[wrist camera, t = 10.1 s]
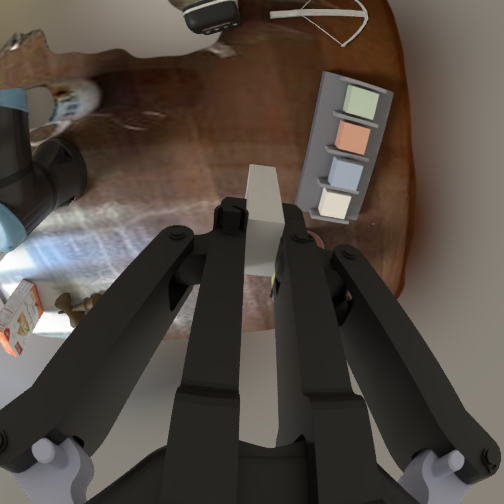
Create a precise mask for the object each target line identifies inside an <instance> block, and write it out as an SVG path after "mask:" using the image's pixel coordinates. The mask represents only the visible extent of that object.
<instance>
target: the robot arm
mask: <svg viewBox="0 0 504 504" xmlns="http://www.w3.org/2000/svg"><path fill="white" fill-rule="evenodd" d="M28 115H29V110H28V103H27V94H26V92H25V91H24V90H23V89H19V88H15V89H5V90H0V252H10V251H12V250H14V249H15V248H16V247H17V246H18V245H19V244H21V243H22V242H23V241H25V240H26V237H27V236H28V235H29V234H30V233H31V232H32V231H33V230H34V229H35V228H36V227H37V226H38V225H39V224H40V223H41V222H42V221H43V220H44V219H45V218H46V217H47V216H48V215H49V214H50V213H51V212H52V211H55V210H58V209H61V208H64V207H67V206H69V205H71V204H72V203H74V202H75V201H76V200H77V199H78V198H79V197H80V196H81V194H82V193H83V191H84V189H85V185H86V167H85V164H84V161H83V158H82V156H81V154H80V153H79V151H78V150H77V148H76V147H75V146H74V145H73V144H71V143H70V142H69V141H67V140H65V139H62V138H52V139H49V140H47V141H45V142H43V143H42V144H40V145H39V146H38V147H37V148H36V149H35V150H34V152H33V153H32V152H31V144H30V133H29V119H28ZM274 269H275V278H274V282H273V286H272V290H271V294H270V297H273V296H274V315H275V337H276V359H277V385H278V415H279V430H278V435H277V439H276V447H275V448H265V447H261V446H257V445H254V444H250V443H247V442H243V441H240V440H239V414H240V395H239V366H240V346H241V325H242V305H243V285H244V274H251V275H260V276H270V277H273V273H274ZM196 284H200V288H199V293H198V298H197V302H196V307H195V312H194V317H193V322H192V327H191V332H190V337H189V342H188V348H187V353H186V358H185V364H184V369H183V375H182V380H181V384H180V386H179V387H178V388H177V391H176V394H175V399H174V405H173V410H172V416H171V422H170V429H169V435H168V442H167V445H166V446H163V447H161V448H159V449H157V450H155V451H154V452H152V453H150V454H149V455H148V456H146V457H145V458H144V459H143V460H141V461H140V462H139V463H138V464H136V465H135V466H134V467H133V468H131V469H130V470H129V471H128V472H126V473H125V474H124V475H123V476H121V477H120V478H119V479H117V480H116V481H115V482H113V483H112V484H111V485H109V486H108V487H107V488H105V489H104V490H102V491H101V492H100V493H99V494H97V495H96V496H94V497H93V498H91V499H90V500H89V501H86V489H87V486H88V485H89V483H90V482H91V480H92V479H93V476H94V465H93V463H92V460H91V458H90V457H91V456H92V455H93V454H94V453H95V451H96V450H97V449H98V448H99V447H100V445H101V444H102V443H103V441H104V440H105V438H106V437H107V435H108V433H109V432H110V430H111V428H112V426H113V424H114V423H115V421H116V419H117V417H118V415H119V413H120V412H121V410H122V408H123V406H124V405H125V403H126V401H127V399H128V398H129V396H130V394H131V392H132V390H133V389H134V387H135V385H136V383H137V382H138V380H139V378H140V376H141V375H142V373H143V371H144V369H145V368H146V366H147V364H148V363H149V361H150V359H151V358H152V356H153V354H154V352H155V351H156V349H157V347H158V346H159V344H160V342H161V341H162V339H163V337H164V336H165V334H166V332H167V330H168V329H169V327H170V325H171V324H172V322H173V320H174V319H175V317H176V315H177V314H178V312H179V311H180V309H181V307H182V306H183V304H184V302H185V301H186V299H187V297H188V296H189V294H190V293H191V291H192V289H193V286H194V285H196ZM349 292H350V294H351V296H352V300H351V299H350V298H349V296H348V294H349ZM346 360H347V362H348V364H349V366H350V368H351V370H352V373H353V375H354V377H355V379H356V381H357V383H358V385H359V387H360V389H361V392H362V394H363V396H364V398H365V400H366V402H367V405H368V407H369V409H370V411H371V413H372V415H373V418H374V420H375V422H376V424H377V427H378V429H379V431H380V433H381V435H382V438H383V440H384V442H385V444H386V447H387V448H388V450H389V453H390V455H391V456H392V457H393V459H394V461H395V462H396V464H397V465H398V467H399V468H400V469H401V470H402V471H403V472H404V474H403V476H401V477H400V479H399V481H398V483H397V482H396V481H395V480H394V479H393V478H392V477H391V476H390V475H389V474H388V473H387V472H386V471H385V470H384V469H383V468H382V467H381V466H380V465H379V464H377V461H376V454H375V449H374V442H373V436H372V430H371V425H370V420H369V414H368V409H367V405H366V402H365V400H364V398H363V397H362V396H361V395H357V394H355V393H354V392H353V390H352V387H351V382H350V377H349V372H348V367H347V362H346ZM500 462H501V452H500V448H499V446H498V445H497V443H496V442H495V441H494V440H493V439H492V438H491V436H490V435H489V434H488V433H487V432H486V431H485V430H484V429H483V428H482V427H481V426H480V425H479V424H478V423H477V422H476V420H475V419H474V418H473V417H472V416H471V415H470V414H469V413H468V412H467V411H466V410H465V408H464V407H463V405H462V403H461V401H460V399H459V397H458V396H457V394H456V392H455V390H454V388H453V387H452V385H451V383H450V381H449V380H448V378H447V376H446V375H445V373H444V371H443V370H442V368H441V366H440V365H439V363H438V361H437V360H436V358H435V357H434V355H433V353H432V352H431V350H430V349H429V347H428V346H427V344H426V342H425V341H424V339H423V338H422V336H421V335H420V333H419V332H418V330H417V329H416V327H415V326H414V324H413V323H412V321H411V320H410V318H409V317H408V315H407V314H406V313H405V311H404V310H403V308H402V307H401V305H400V304H399V303H398V301H397V300H396V298H395V297H394V296H393V294H392V293H391V291H390V290H389V289H388V287H387V286H386V285H385V283H384V282H383V280H382V279H381V278H380V276H379V275H378V274H377V272H376V271H375V270H374V268H373V267H372V266H371V265H370V263H369V262H368V261H367V259H366V258H365V257H364V256H363V254H362V253H361V252H360V251H359V250H357V249H356V248H354V247H352V246H350V245H343V244H342V245H337V246H336V247H335V248H334V250H333V252H332V251H329V250H326V249H323V248H321V247H319V246H317V243H316V240H315V238H314V237H313V236H312V235H311V234H309V233H308V232H307V228H306V225H305V221H304V217H303V214H302V210H301V209H300V208H299V207H298V206H297V205H293V204H286V203H281V197H280V191H279V186H278V180H277V174H276V169H275V167H268V166H260V165H253V164H250V167H249V175H248V182H247V189H246V196H245V199H242V198H234V197H226V198H225V199H223V200H222V202H221V205H219V206H217V207H216V208H215V211H214V225H213V230H212V231H211V232H209V233H206V234H201V235H194V232H193V231H192V230H191V229H190V228H188V227H186V226H181V225H173V226H170V227H166V228H165V229H163V230H162V231H161V232H160V233H159V234H158V235H157V236H156V237H155V238H154V239H153V240H152V241H151V242H150V243H149V245H148V246H147V247H146V248H145V249H144V250H143V251H142V252H141V253H140V254H139V255H138V256H137V257H136V258H135V259H134V260H133V262H132V263H131V264H130V265H129V266H128V267H127V268H126V269H125V270H124V271H123V273H122V274H121V275H120V276H119V277H118V278H117V279H116V280H115V281H114V283H113V284H112V285H111V286H110V287H109V288H108V289H107V291H106V292H105V293H104V294H103V295H102V296H101V298H100V299H99V300H98V301H97V302H96V303H95V305H94V306H93V307H92V308H91V309H90V311H89V312H88V313H87V314H86V315H85V317H84V318H83V319H82V320H81V322H80V323H79V324H78V325H77V326H76V328H75V329H74V330H73V331H72V333H71V334H70V335H69V337H68V338H67V339H66V340H65V342H64V343H63V344H62V346H61V347H60V348H59V349H58V351H57V352H56V353H55V355H54V356H53V357H52V359H51V360H50V362H49V363H48V364H47V366H46V367H45V368H44V370H43V371H42V373H41V374H40V375H39V377H38V378H37V380H36V381H35V382H34V384H33V385H32V387H30V388H29V389H28V390H26V391H25V392H24V393H22V394H21V395H20V396H18V397H17V398H16V399H14V400H13V401H12V402H10V403H9V404H8V405H6V406H5V407H4V408H3V409H1V410H0V467H2V468H4V469H6V470H8V471H10V472H11V473H12V474H13V475H14V477H15V478H16V480H17V481H18V483H19V484H20V486H21V487H22V489H23V490H24V492H25V493H26V495H27V496H28V498H29V499H30V500H31V502H32V503H33V504H460V503H461V501H462V500H463V498H464V497H465V495H466V494H467V492H468V490H469V489H470V487H471V486H472V485H473V484H475V483H477V482H479V481H482V480H484V479H486V478H488V477H490V476H492V475H493V474H495V473H496V471H497V470H498V468H499V465H500Z"/></svg>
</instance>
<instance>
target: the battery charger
mask: <svg viewBox="0 0 504 504" xmlns="http://www.w3.org/2000/svg"><path fill="white" fill-rule="evenodd" d="M183 17H184V18H185V21H186V24H187V26H188V28H189V29H190V30H191V31H193V32H194V33H196V34H202V33H203V34H204V35H210V34H213V33H217V32H220V31H224V30H228V29H231V28H235V27H238V26H239V25H240V23H241V17H240V13H239V10H238V5H237V2H236V0H203V1H200V2H197V3H194V4H192V5H189V6H187V7H185V8H184V9H183Z"/></svg>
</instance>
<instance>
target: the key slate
mask: <svg viewBox="0 0 504 504" xmlns="http://www.w3.org/2000/svg"><path fill="white" fill-rule="evenodd" d="M362 170H363V165H362V164H361V163H360V162H359V161H355V160H351V159H347V158H342V157H338V156H334V158H333V162H332V166H331V169H330V173H329V177H328V182H329V183H330V185H331V186H334V187H339V188H343V189H348V190H353V191H356V189H357V186H358V183H359V180H360V176H361V173H362Z"/></svg>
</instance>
